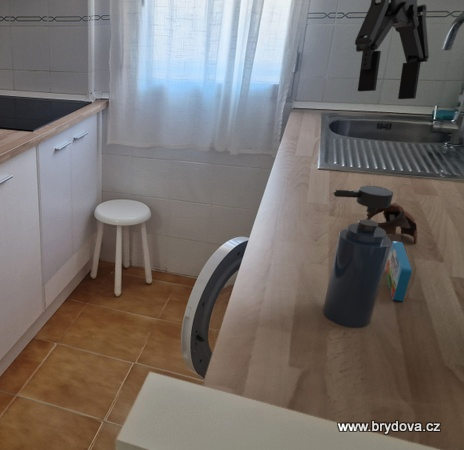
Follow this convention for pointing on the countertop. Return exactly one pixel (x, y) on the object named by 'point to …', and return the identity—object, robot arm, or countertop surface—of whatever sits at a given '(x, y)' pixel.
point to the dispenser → (356, 274)
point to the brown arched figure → (397, 221)
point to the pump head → (369, 197)
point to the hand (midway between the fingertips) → (387, 95)
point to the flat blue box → (398, 271)
